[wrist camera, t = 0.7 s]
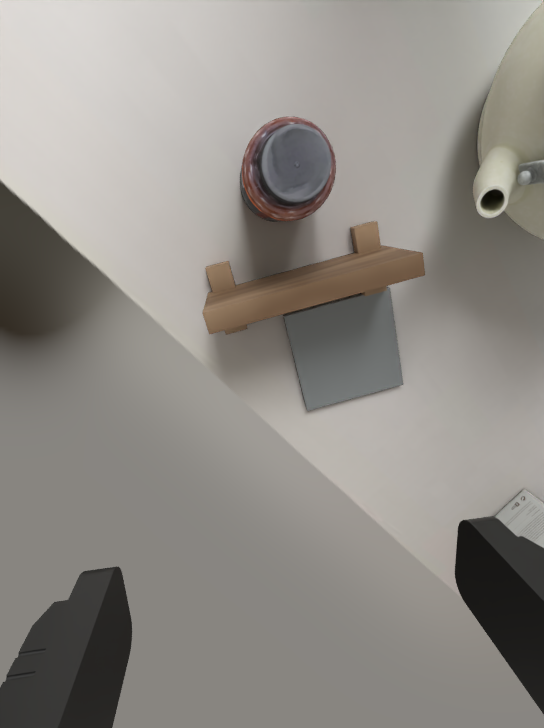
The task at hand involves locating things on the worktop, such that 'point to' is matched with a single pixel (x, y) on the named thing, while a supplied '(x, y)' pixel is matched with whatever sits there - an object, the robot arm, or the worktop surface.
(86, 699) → the robot arm
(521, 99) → the kettle
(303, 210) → the supplement bottle
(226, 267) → the wooden panel
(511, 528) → the skincare box
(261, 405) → the worktop surface
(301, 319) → the mat
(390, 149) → the worktop surface
